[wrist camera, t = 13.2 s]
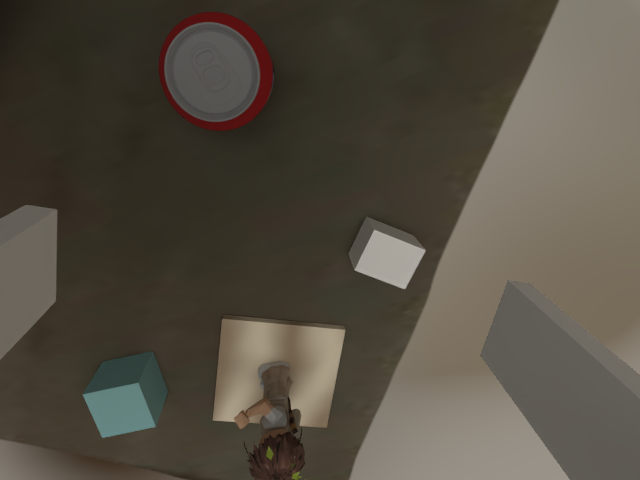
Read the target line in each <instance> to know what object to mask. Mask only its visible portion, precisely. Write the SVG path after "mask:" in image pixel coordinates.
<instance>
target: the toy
mask: <svg viewBox="0 0 640 480" xmlns="http://www.w3.org/2000/svg"><path fill="white" fill-rule="evenodd" d="M289 371H290V368H289V364H287V363H285V362H283V361H281V362H275V363H269V364H264V365H261V366H260V367H259V368H258V377H259V379H261V382H260V386H261V388H262V390H264V392H263V398H262V399H261V400H260V401H258V402H257V403H255V404H254V405H252V406H251V407H249V408H248V409H247V410H245V412H244V410H242V411H241V412H240V413H239V414H238V415H237V416H236V417H235V418H234V420H235V422H236V423H237V425H238V426H239V428H240V429H242V428H243V427H245V426H246V425H247V424H248V423H249V422H250V420H249V417H252V416H255V415H258V414H260V413H262V415H263V416H262V417H261V419H260V436H261V440H260V443H259V449H258V448H257V447H256V446H255V445H254V449H255V451H254V449H253V452H254V455H253V454H252V453H250V452H249V454H250V456H249V457H250V458H251V460H250V459H249V460H247V461H248V462H249V463H250V465H251V466H252V468H253V469H252V468H250V469H249V470H250V473H251V475H252V477H254V479H255V480H297V479H299V478H301V477H298V474H299V472H300V470H301V469H302V467H303V466H304V465H305V462H304V454H305V453H304V449H303V444H301V443H300V441H299V438H298V439H296V437H294V435H293V434H295V433H296V432H298V431H299V426H300V421H301V412H300V410H299V409H297V408H296V409H293V410H291V401H290V398H289V396H288V395H289V389H290V387H291V385H292V383H293V382H292V380H291V378H290V376H289ZM301 435H302V428H301ZM300 439H301V436H300ZM244 446H245V443H244ZM245 449H246V447H245ZM246 451H248V450H246ZM247 454H248V452H247ZM249 454H248V455H249Z"/></svg>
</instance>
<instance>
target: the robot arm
mask: <svg viewBox="0 0 640 480" xmlns="http://www.w3.org/2000/svg"><path fill="white" fill-rule="evenodd" d="M56 261H57V209H51V208H44V207H38V206H32V205H25V206H23V207H21V208H19V209H17V210H15V211H14V212H12V213H10V214H8V215H6V216H4V217H3V218H1V219H0V360H1V359H2V358H3V357H4V355H5V354H6V353H7V352H8V351H9V350H10V349H11V348H12V347H13V346H14V345H15V344H16V343H17V342H18V341H19V340H20V339H21V337H22V336H23V335H24V334H25V333H26V332H27V331H28V330H29V329H30V328H31V327H32V326H33V325H34V324H35V323H36V322H37V321H38V319H39V318H40V317H41V316H42V315H43V314H44V313H45V312H46V311H47V310H48V309H49V308H50V307H51V306H52V305H53V304H54V303H55V302H56ZM480 356H481V357H482V358H483V360H484V361H485V362H486V364H487V365H488V367H489V368H490V369H491V371H492V372H493V374H494V375H495V376H496V378H497V379H498V380H499V382H500V383H501V384H502V386H503V387H504V389H505V390H506V392H507V393H508V394H509V396H510V397H511V398H512V400H513V401H514V403H515V404H516V405H517V407H518V408H519V410H520V411H521V412H522V413H523V415H524V416H525V418H526V419H527V421H528V422H529V423H530V425H531V426H532V428H533V429H534V430H535V432H536V433H537V434H538V436H539V437H540V438H541V440H542V441H543V443H544V444H545V446H546V447H547V448H548V450H549V451H550V452H551V454H552V455H553V457H554V458H555V459H556V461H557V462H558V464H559V465H560V466H561V468H562V469H563V471H564V472H565V473H566V475H567V476H568V477H569V479H570V480H640V375H639V374H638V373H637V372H636V371H634V370H633V369H632V368H631V367H630V366H629V365H627V364H626V363H625V362H624V361H623V360H621V359H620V358H619V357H618V356H617V355H615V354H614V353H613V352H612V351H611V350H609V349H608V348H607V347H605V345H603V344H602V343H601V342H600V341H599V340H597V339H596V338H595V337H594V336H592V335H591V334H590V333H589V332H588V331H587V330H585V329H584V328H583V327H582V326H580V325H579V324H578V323H577V322H576V321H575V320H573V319H572V318H571V317H570V316H569V315H567V314H566V313H565V312H564V311H562V310H561V309H560V308H559V307H558V306H557V305H555V304H554V303H553V302H552V301H551V300H549V299H548V298H547V297H546V296H545V295H543V294H542V293H541V292H540V291H539V290H537V289H536V288H535V287H534V286H533V285H531V284H529V283H523V282H516V281H509V280H508V282H507V284H506V288H505V290H504V293H503V295H502V298H501V301H500V303H499V306H498V309H497V311H496V314H495V317H494V320H493V322H492V325H491V328H490V330H489V333H488V336H487V338H486V341H485V344H484V346H483V349H482V352H481V355H480Z"/></svg>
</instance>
